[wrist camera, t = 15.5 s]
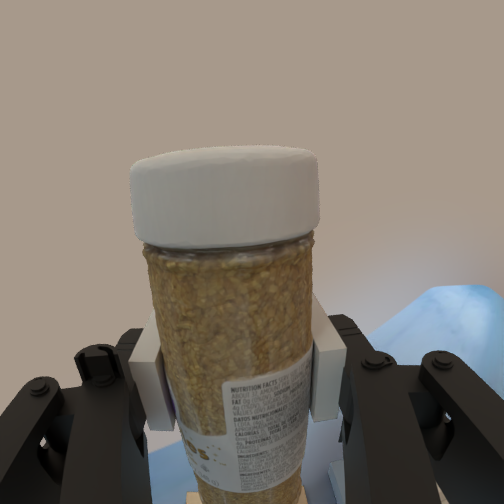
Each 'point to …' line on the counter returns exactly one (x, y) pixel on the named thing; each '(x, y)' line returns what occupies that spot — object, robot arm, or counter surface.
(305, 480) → the counter surface
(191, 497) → the cork coaster
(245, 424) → the sprinkles bottle
